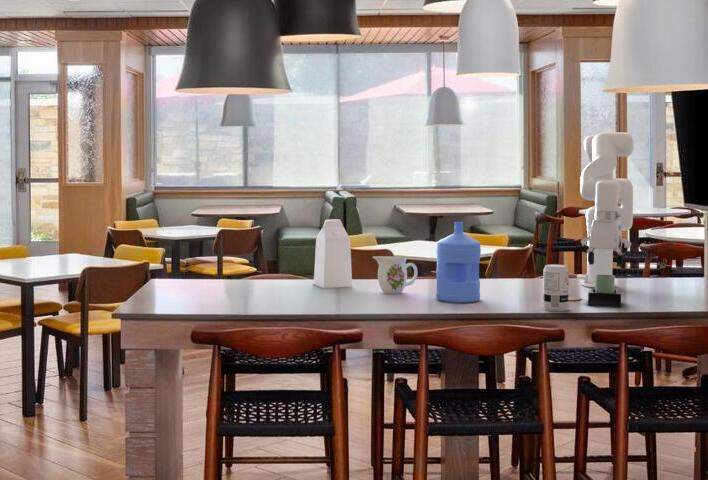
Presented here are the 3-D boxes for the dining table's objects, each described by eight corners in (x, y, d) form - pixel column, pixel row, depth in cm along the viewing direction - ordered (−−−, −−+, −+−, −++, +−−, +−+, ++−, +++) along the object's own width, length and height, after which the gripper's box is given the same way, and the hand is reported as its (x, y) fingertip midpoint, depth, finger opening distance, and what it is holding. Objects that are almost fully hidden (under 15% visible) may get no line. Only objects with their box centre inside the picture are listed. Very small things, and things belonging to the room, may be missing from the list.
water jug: (427, 298, 353) (428, 221, 351) (464, 295, 359) (465, 219, 357) (451, 304, 339) (451, 224, 337) (488, 301, 345) (489, 223, 343)
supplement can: (539, 307, 332) (540, 264, 331) (563, 307, 333) (563, 263, 332) (547, 311, 324) (548, 267, 323) (571, 311, 325) (572, 267, 324)
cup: (592, 304, 339) (592, 276, 338) (598, 302, 344) (598, 274, 344) (610, 306, 335) (611, 277, 335) (616, 303, 341) (616, 275, 340)
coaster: (548, 299, 350) (548, 298, 350) (557, 295, 359) (557, 294, 359) (575, 301, 345) (575, 300, 345) (584, 298, 353) (584, 297, 353)
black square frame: (587, 305, 336) (588, 292, 336) (588, 301, 347) (588, 288, 346) (620, 307, 333) (621, 294, 333) (620, 302, 343) (620, 289, 343)
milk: (341, 282, 391) (341, 218, 390) (352, 286, 380) (352, 220, 379) (313, 284, 388) (313, 219, 386) (323, 288, 377) (323, 221, 375)
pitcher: (422, 293, 363) (422, 257, 362) (376, 295, 358) (376, 258, 358) (412, 289, 373) (412, 254, 372) (367, 291, 369) (367, 255, 368)
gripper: (634, 216, 336) (633, 266, 337) (585, 214, 346) (584, 262, 347) (628, 217, 330) (627, 268, 331) (578, 215, 340) (577, 264, 341)
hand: (605, 265), depth 339 cm, fingers open, 9 cm apart
